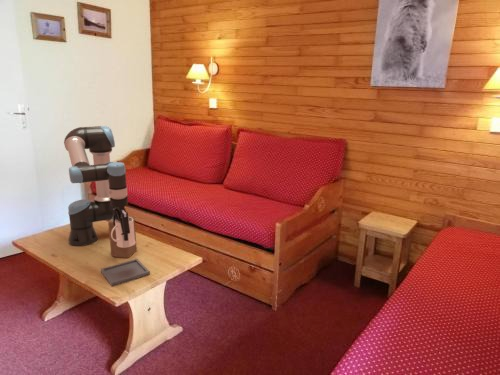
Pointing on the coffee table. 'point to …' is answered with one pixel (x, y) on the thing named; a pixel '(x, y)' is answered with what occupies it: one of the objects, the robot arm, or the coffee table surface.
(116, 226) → the mug
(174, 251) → the coffee table surface
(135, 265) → the tray
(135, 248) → the wooden block
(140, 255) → the coffee table surface
